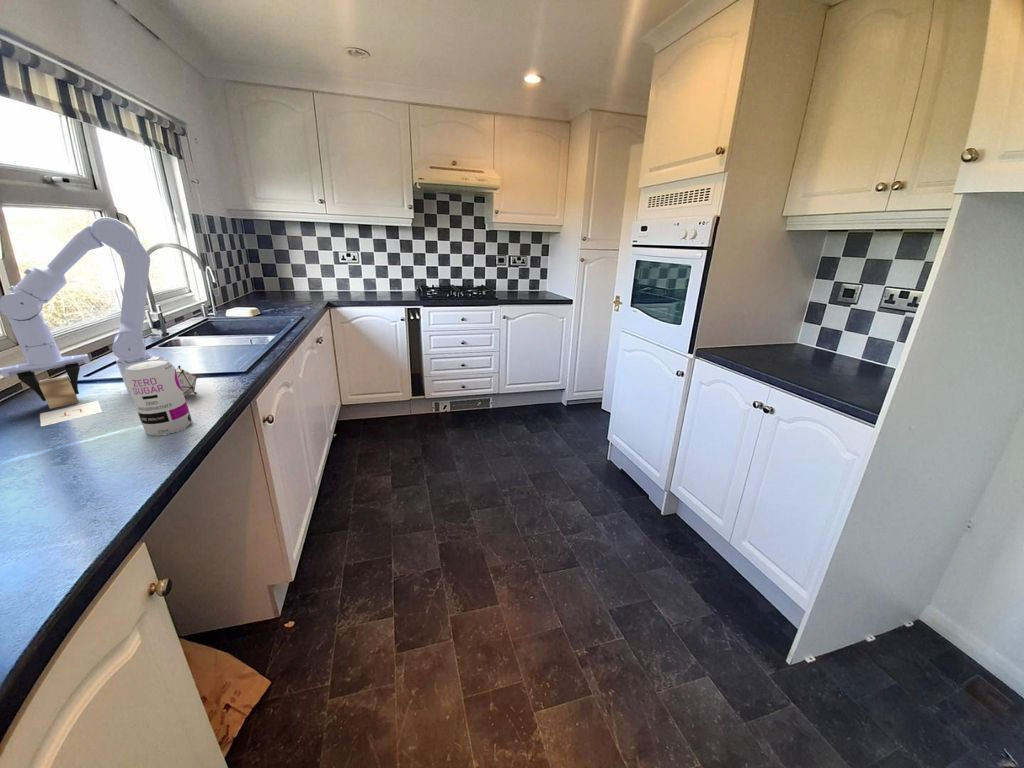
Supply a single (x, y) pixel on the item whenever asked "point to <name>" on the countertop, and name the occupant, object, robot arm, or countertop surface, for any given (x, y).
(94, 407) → the tile
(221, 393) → the countertop surface
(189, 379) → the game die
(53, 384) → the oak cube
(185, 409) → the supplement can
